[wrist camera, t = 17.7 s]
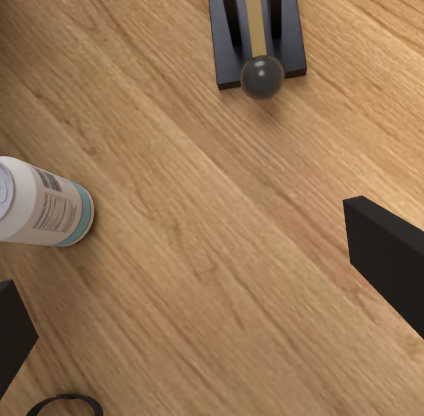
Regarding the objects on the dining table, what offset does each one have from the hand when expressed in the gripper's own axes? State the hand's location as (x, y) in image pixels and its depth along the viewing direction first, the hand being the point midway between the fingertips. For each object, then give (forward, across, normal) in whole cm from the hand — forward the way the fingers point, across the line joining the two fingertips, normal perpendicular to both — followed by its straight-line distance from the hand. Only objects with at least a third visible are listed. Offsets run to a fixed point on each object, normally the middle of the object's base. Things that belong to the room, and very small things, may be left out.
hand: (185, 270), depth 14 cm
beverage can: (+26, -14, -3) cm, 29 cm away
